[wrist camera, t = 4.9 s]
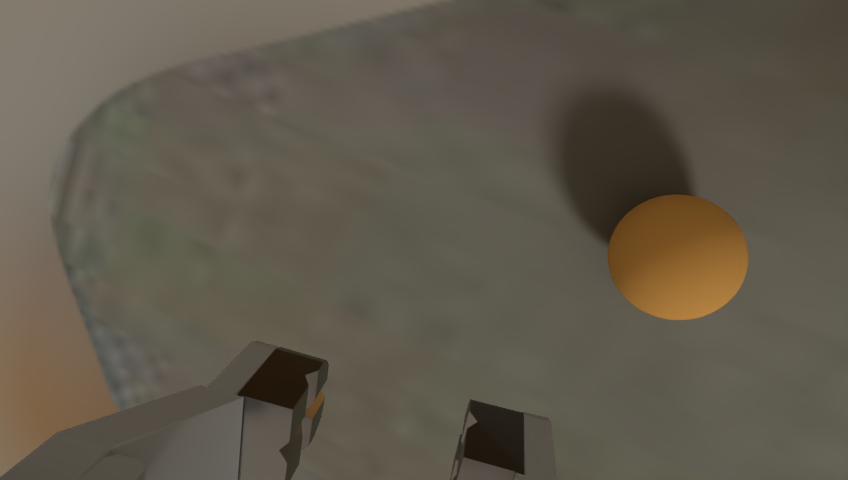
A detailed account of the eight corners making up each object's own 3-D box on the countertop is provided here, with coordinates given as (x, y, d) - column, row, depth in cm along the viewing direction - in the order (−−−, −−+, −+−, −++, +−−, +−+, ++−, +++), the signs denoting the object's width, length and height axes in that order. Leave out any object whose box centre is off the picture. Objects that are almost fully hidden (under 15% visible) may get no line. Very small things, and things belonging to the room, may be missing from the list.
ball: (694, 299, 25) (738, 358, 20) (585, 273, 26) (602, 324, 21) (738, 196, 24) (799, 233, 18) (619, 170, 24) (647, 199, 19)
